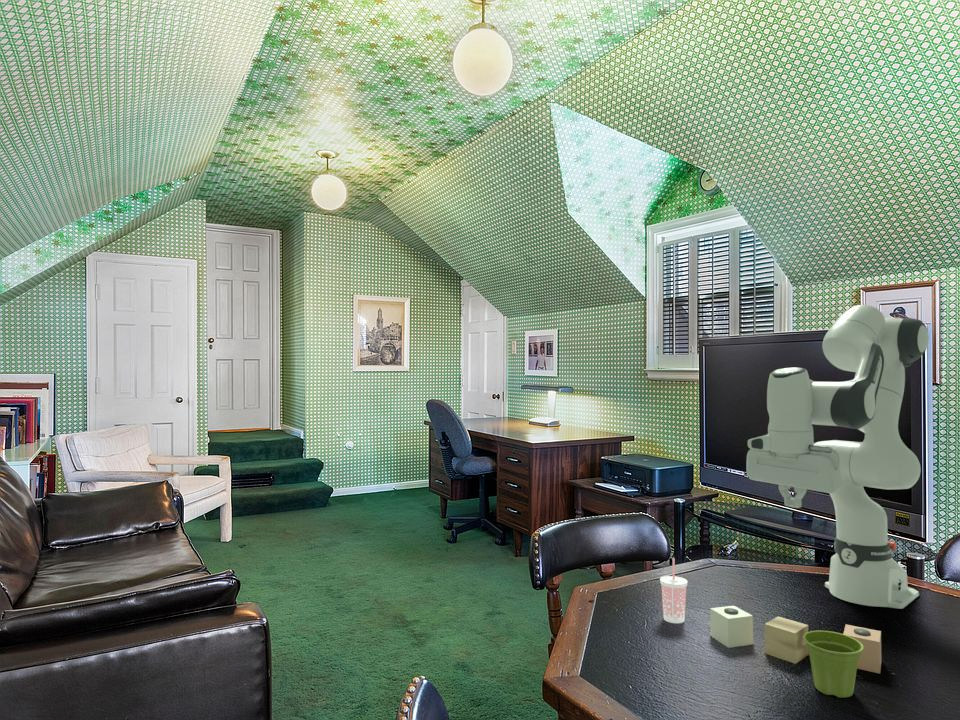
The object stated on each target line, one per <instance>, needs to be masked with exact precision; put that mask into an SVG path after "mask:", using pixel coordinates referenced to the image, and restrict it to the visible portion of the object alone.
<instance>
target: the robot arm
mask: <svg viewBox="0 0 960 720" xmlns="http://www.w3.org/2000/svg"><path fill="white" fill-rule="evenodd" d="M928 345H929V331H928V329H927V326H926V324H925V323H924V322H923V321H922V320H921V319H917V318H911V317H904V318H899V317H888V316H887V317H885V315H884V314H883V312H882V311H881V310H879V309H878V308H876V307H875V306H872V305H868V304H857V305H854V306H852V307H850V308H849V309H848V310H846V311H845V312H844V313H842V314H841V315H840V316H839V317H838V318H836V320H835V322H833V324H832V325H831V327H830V328H829V329H828V330H827V332H826V333H825V335H824V337H823V341H822V352H823V355H824V356H825V358H826V359H827V361H829V362H828V363H830V364H831V365H832V366H833V367H835V368H837V369H839V370H841V371H844V372H845V371H846V372H852V373H855V374H854V378H853V379H850V380H845V381H816V380H815V381H814V380H812V379H810V375H809V373H808V370H807V369H806V368H803V367H797V366H795V367H792V366H791V367H784V368H778V369H775V370H773V371H772V372H770V374H769V377H768V381H767V389H766V390H767V391H766V408H767V413H768V416H769V420H768V426H767V433H766V434H763V435H761V436H757V437H753V438H750V439H748V440H747V447H748V449H749V450H748V451H747V454H746V466H745V467H746V468H745V469H746V475H747V478H749V480H751V481H755V482H756V481H758V482H761V483H769V484H773V485H778V491H779V492H780V495H781V496H782V498H783V500H784V501H783V502H784V506H786V507H790V508H794V509H800V508H802V506H803V505H802V499H803V498H804V496H805V495H806V493H807V490H810V491H813V492H814V491H815V492H820V493H825V494H829V496H830V498H831V500H832V502H833V506H834V513H835V524H836V525H835V526H836V536H835V538H834V542H833V546H834V552H835V554H833V555H831V557H830V563H829V564H830V565H829V574H828V575H829V577H828V581H825V582H824V587H825V588H827V589H828V590H829V592H830V594H831V595H832V596H833V597H835V598H838V599H840V600H842V601H845V602H848V603H853V604H857V605H860V606H868V607H880V608H890V609H899V610H900V609H901V610H903V609H905V607H907V606H908V605H909V604H911V603H912V602H913V601H914V600H915V599H917V598H918V597H919V596H920V591H918V590H916V588H913V587H910V586H908V583H909V582H908V574H907V571H906V569H904V568H903V567H902V566H901V565H900V564H899V563H898V562H896V560H895V559H893V554H892V551H897V548H898V547H897V543H896V542H894V541H889V540H888V516H887V513H886V510H885V509H884V508H883V507H882V506H881V505H880V504H879V503H877V502H876V501H874V500H873V499H871V498H870V497H869V495H868V494H867V493H866V490H865V488H864V487H867V488H874V489H879V490H880V489H881V490H908V489H911V488H912V487H913V486H914V485H915V484H917V482H918V481H919V479H920V476H921V463H920V461H919V459H918V456H917V455H916V454H915V452H913V451H912V450H911V449H910V448H908V446H907V445H906V444H905V443H904V442H903V439H901V436H900V431H899V419H900V413H901V407H902V402H903V398H904V393H905V385H906V383H905V382H906V370H905V368H908V367H910V366H912V364H914V362H916V361H918V360H919V359H920V358H921V357H922V356H923V355H924V354H925V353H926V352H927V348H928ZM813 425H815V426H816V425H817V426H829V427H831V426H832V427H840V428H846V429H854V430H858V431H860V432H862V433H864V439H863V441H850V440H839V439H832V440H831V439H830V440H821V441H817V442H814V439H815V437H814V427H813ZM791 488H793V489H794V493H796V494H795V496H793V497H792V495H791V492H790V489H791Z"/></svg>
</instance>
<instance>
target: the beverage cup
mask: <svg viewBox="0 0 960 720" xmlns="http://www.w3.org/2000/svg"><path fill="white" fill-rule="evenodd" d="M675 561H676V560H675V557H672V575H665V576H664V575H663V576H662V577H660V578H659V581H660V585H661V599H662V612H663V620H664V621H665V622H668V623H671V624H682V623H684V622H685V615H686V602H687V601H686V599H687V598H686V597H687V586H688V583H689V582H688V579H686V578H684V577H681V576H676V575H675V574H676V572H675V571H676V567H675V566H676V565H675V564H676V563H675Z"/></svg>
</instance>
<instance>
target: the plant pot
mask: <svg viewBox="0 0 960 720" xmlns="http://www.w3.org/2000/svg"><path fill="white" fill-rule="evenodd" d="M803 639H804V641H805V642H806V645H807V648H808V654H809V655H808V656H809V661H810V666H811V673H812V677H813V685H814V688H815V689H817V691H819V692H820V693H822V694H823V695H827V696H835V697H837V698H842V699H844V698H850V697H852V696H853V694H854V691H855V684H856V677H857V670H858V669H857V664H858V659H859V658H860V653H861V652H862V651H863V648H864V647H863V645H862V643H861V642H859V641H858V640H856V639H854V638H852V637H850V636H847V635H844V634H843V633H840V632H836V631H831V630H830V631H829V630H811V631H808V632H807V633H805V634H804V636H803Z"/></svg>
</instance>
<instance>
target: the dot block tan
mask: <svg viewBox="0 0 960 720" xmlns="http://www.w3.org/2000/svg"><path fill="white" fill-rule="evenodd" d="M843 629H844V631H843V633H842V634H844V635H847V636H850V637H852V638H854V639H856V640H858V641H859V642H861V643H862V645H863V647H864V648H863V651H862V652H861V653H860V658H859V659H858V664H857V670H863V671H867V672H870V673H871V672H872V673H875V674H880V675H881V671H882V670H881V669H882V668H881V667H882V630H878V629H877V630H876V629H873V628H871V629H870V628H867V627H862V626H861V627H860V626H855V625H851V624H845V626H844V628H843Z"/></svg>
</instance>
